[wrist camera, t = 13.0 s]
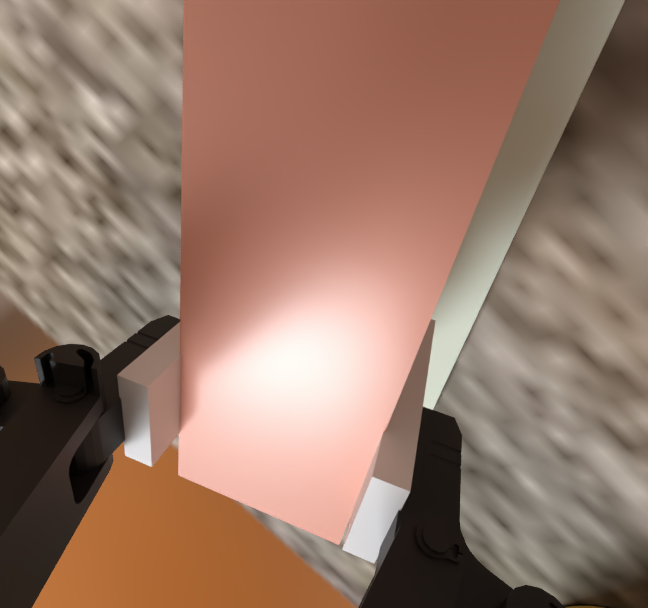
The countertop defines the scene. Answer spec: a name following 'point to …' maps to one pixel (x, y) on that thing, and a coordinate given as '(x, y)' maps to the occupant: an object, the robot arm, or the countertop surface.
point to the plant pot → (583, 607)
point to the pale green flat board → (517, 173)
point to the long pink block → (326, 224)
